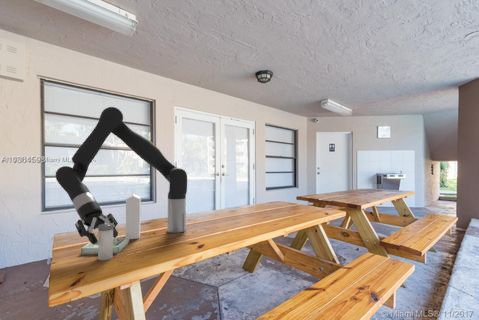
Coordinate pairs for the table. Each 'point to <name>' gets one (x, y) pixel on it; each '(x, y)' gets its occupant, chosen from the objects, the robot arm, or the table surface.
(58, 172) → the robot arm
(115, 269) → the table surface
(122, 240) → the ball
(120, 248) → the tray
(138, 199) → the milk
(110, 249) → the shaker
